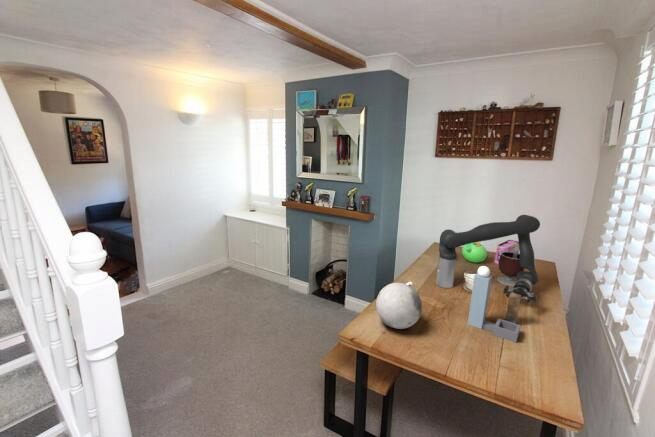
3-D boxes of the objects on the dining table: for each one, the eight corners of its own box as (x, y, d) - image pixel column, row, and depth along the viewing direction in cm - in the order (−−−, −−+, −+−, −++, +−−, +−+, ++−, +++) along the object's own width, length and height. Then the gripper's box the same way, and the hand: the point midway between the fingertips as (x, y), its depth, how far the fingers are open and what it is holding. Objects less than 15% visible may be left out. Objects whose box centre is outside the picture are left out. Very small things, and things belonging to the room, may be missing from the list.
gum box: (504, 266, 220) (507, 248, 217) (492, 263, 226) (495, 245, 223) (517, 259, 235) (520, 241, 232) (506, 256, 241) (509, 239, 238)
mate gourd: (516, 288, 186) (522, 256, 181) (492, 280, 196) (497, 250, 191) (526, 281, 196) (531, 251, 191) (502, 274, 206) (506, 245, 201)
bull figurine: (414, 295, 174) (415, 281, 172) (401, 304, 164) (403, 289, 163) (407, 292, 177) (408, 279, 175) (394, 301, 167) (395, 286, 166)
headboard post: (466, 325, 146) (474, 267, 140) (471, 317, 153) (479, 262, 146) (515, 342, 134) (527, 280, 128) (519, 333, 141) (530, 273, 134)
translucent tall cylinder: (505, 322, 149) (509, 295, 146) (506, 319, 152) (511, 292, 149) (514, 325, 147) (519, 298, 144) (516, 322, 150) (521, 295, 147)
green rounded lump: (489, 266, 220) (493, 246, 217) (465, 265, 220) (468, 245, 217) (478, 257, 237) (480, 238, 234) (455, 256, 238) (458, 237, 234)
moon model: (391, 342, 132) (394, 298, 127) (366, 318, 150) (369, 279, 145) (429, 332, 140) (433, 290, 135) (401, 310, 158) (404, 273, 153)
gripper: (508, 277, 172) (502, 287, 160) (539, 284, 163) (536, 295, 151) (506, 289, 174) (500, 300, 161) (537, 298, 165) (533, 310, 153)
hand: (517, 298), depth 156 cm, fingers open, 8 cm apart
